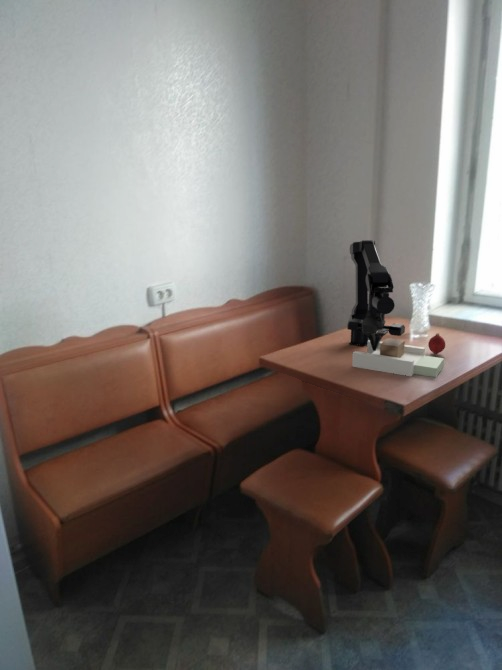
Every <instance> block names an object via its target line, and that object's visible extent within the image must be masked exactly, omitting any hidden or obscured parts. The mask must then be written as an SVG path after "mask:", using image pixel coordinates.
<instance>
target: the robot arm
mask: <svg viewBox="0 0 502 670" xmlns="http://www.w3.org/2000/svg"><path fill="white" fill-rule="evenodd" d="M349 254H350V258H351V261H352V262H353V264H354V265H355V303H354V306H353V307H352V308H351V314H350V315H349V318H348V321H347V324H346V325H347V326H346V327H347V330H350V341H349V342H348V345H353V346H360V347H367V341H368V340H370V343H371V346H372V349H373V351H376V350H377V347H378V345H379V343H380V341H381V340H383V337H384V336H386V335H387V334H388V333H389V335H390V336H396V337H401V336H402V335H403V334H404V333H405V332H406V326H405V325H404V324H403V323H396V322H394V323H392V324H390V325H387V324H386V315H389V314H391V313H392V312H393V311H394V309H395V306H396V305H395V301H394V300H393V298H392V297H390V293H391V294H392V293H393V292H394V288H395V287H394V282H393V278H392V276H391V273H389V271H388V268H387V267H386V266H384V265H382V263H381V260H380V257H379V254H378V252H377V249H376V241H375V240H373V239H366V240H365V239H363V240H360V241H352V243H351V244H350V245H349ZM381 342H382V341H381Z"/></svg>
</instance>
